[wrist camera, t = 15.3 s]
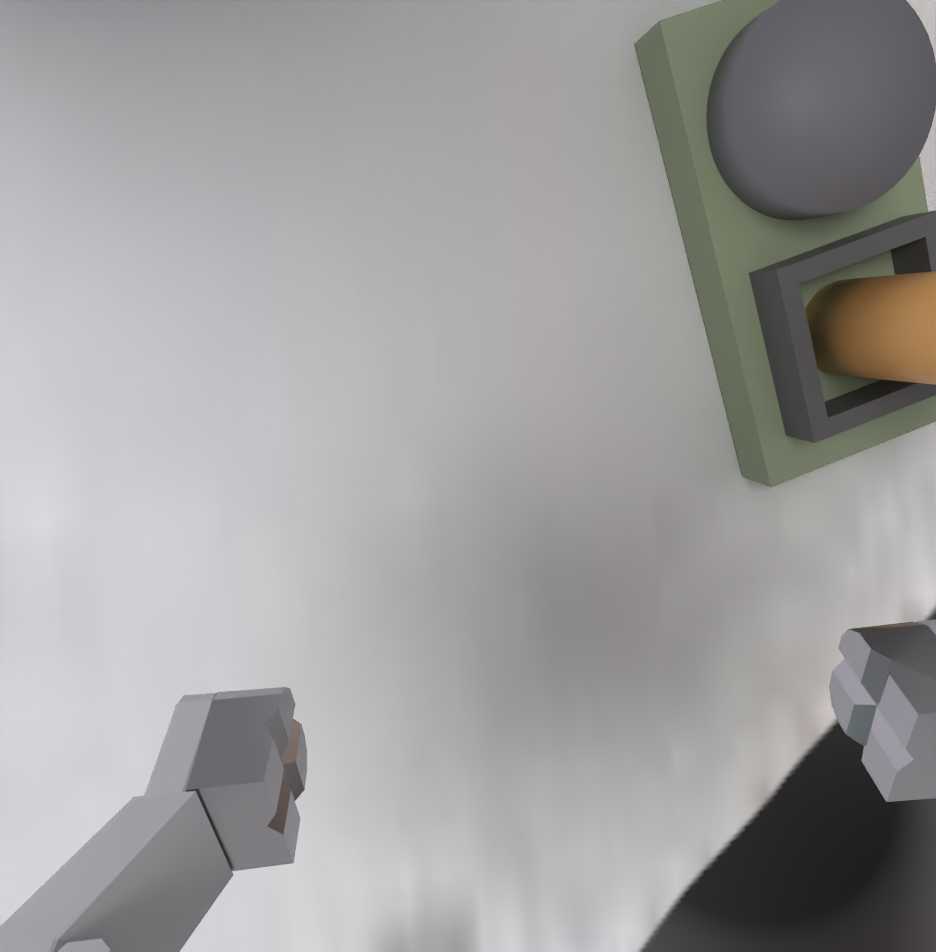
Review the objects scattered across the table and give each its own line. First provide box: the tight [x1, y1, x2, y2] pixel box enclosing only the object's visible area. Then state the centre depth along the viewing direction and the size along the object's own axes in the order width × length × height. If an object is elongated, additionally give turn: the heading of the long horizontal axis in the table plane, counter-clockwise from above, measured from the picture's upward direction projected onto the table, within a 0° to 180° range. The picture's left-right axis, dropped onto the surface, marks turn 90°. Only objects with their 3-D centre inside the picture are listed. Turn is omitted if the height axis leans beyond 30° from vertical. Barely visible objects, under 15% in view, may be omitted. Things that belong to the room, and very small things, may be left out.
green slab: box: [635, 0, 936, 487], centre depth 38 cm, size 24×12×6 cm, turn 19°
